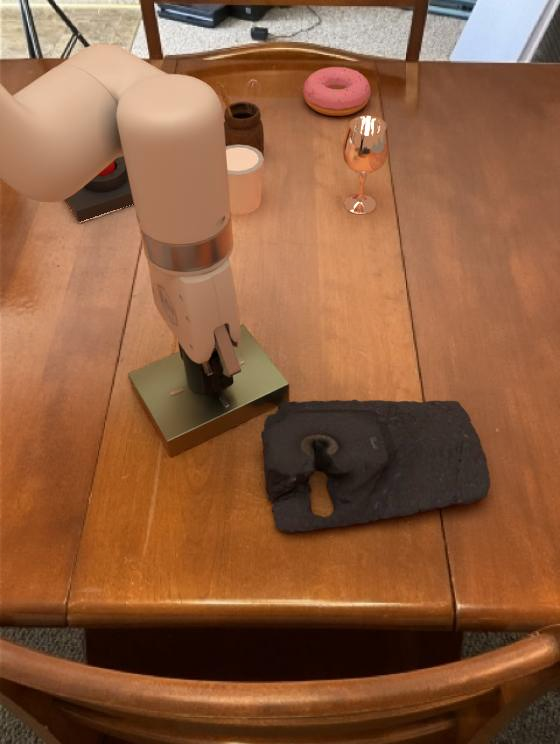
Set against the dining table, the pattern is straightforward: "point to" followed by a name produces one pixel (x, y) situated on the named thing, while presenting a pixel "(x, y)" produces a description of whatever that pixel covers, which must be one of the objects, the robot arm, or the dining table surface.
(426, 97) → the dining table surface
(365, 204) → the wineglass
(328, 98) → the doughnut
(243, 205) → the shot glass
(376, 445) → the dark grey slotted slab
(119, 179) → the button box
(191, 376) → the dial
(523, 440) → the dining table surface
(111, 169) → the button
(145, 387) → the control panel
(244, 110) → the utensil holder
